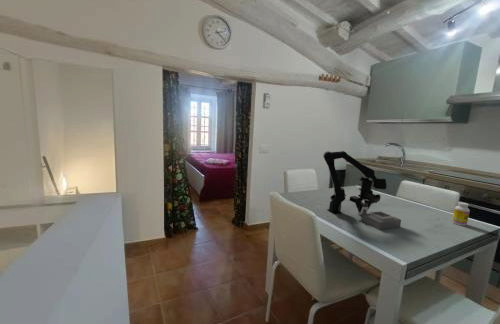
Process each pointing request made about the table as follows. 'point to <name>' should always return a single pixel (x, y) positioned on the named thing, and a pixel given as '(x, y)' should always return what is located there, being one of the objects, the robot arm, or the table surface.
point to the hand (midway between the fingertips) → (362, 212)
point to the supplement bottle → (461, 214)
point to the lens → (364, 209)
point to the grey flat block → (381, 220)
